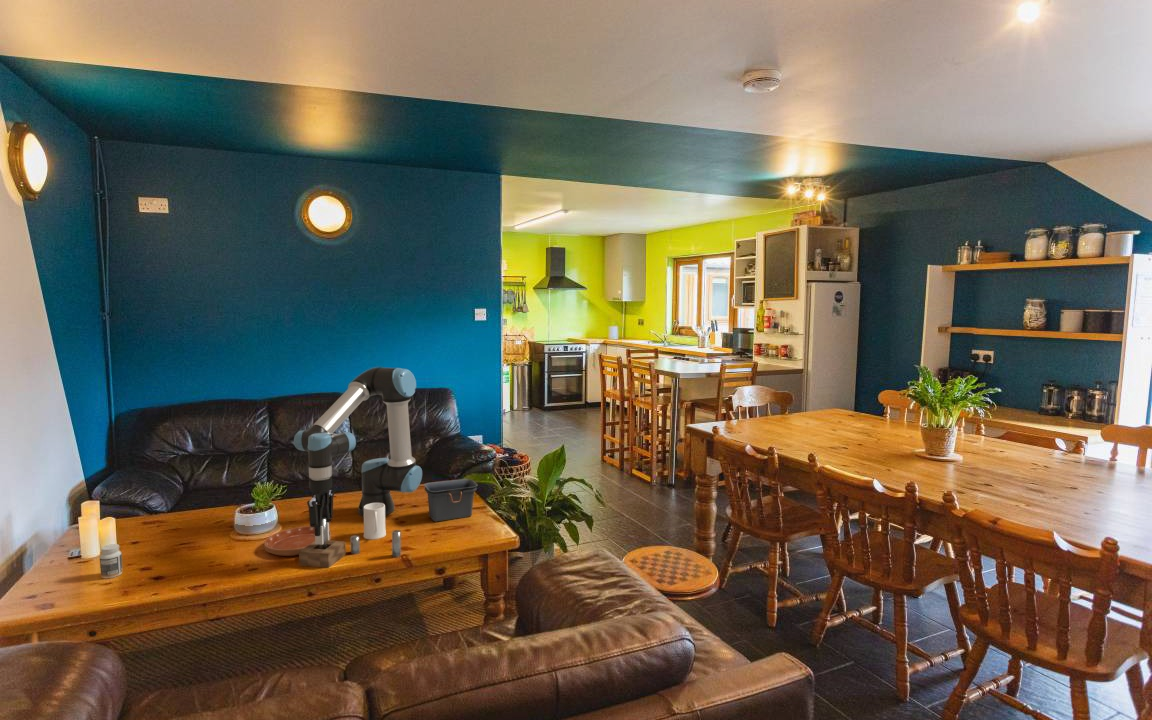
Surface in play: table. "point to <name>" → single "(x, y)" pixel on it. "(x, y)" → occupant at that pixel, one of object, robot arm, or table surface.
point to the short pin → (355, 544)
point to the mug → (374, 521)
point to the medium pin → (396, 543)
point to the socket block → (322, 554)
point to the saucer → (290, 541)
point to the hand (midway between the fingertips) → (322, 541)
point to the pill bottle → (111, 561)
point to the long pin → (324, 534)
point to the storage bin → (450, 499)
